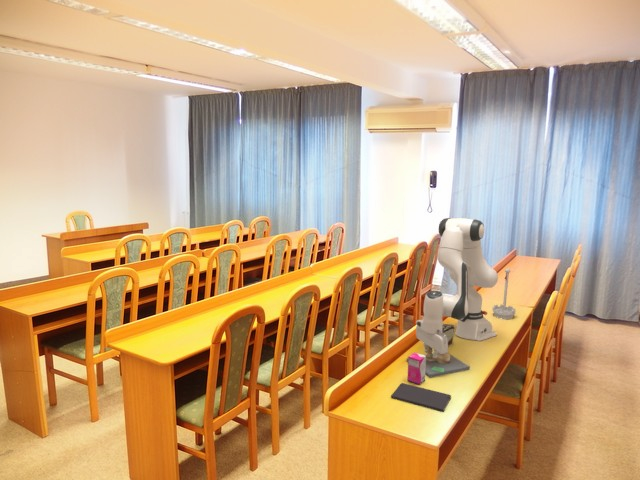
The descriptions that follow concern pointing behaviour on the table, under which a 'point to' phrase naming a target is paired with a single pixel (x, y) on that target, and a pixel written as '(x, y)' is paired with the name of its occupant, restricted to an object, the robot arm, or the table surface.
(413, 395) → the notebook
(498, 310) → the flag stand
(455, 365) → the flat gray board
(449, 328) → the brown cream half-round block
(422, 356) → the supplement box
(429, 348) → the tan wooden handled piece
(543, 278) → the table surface
